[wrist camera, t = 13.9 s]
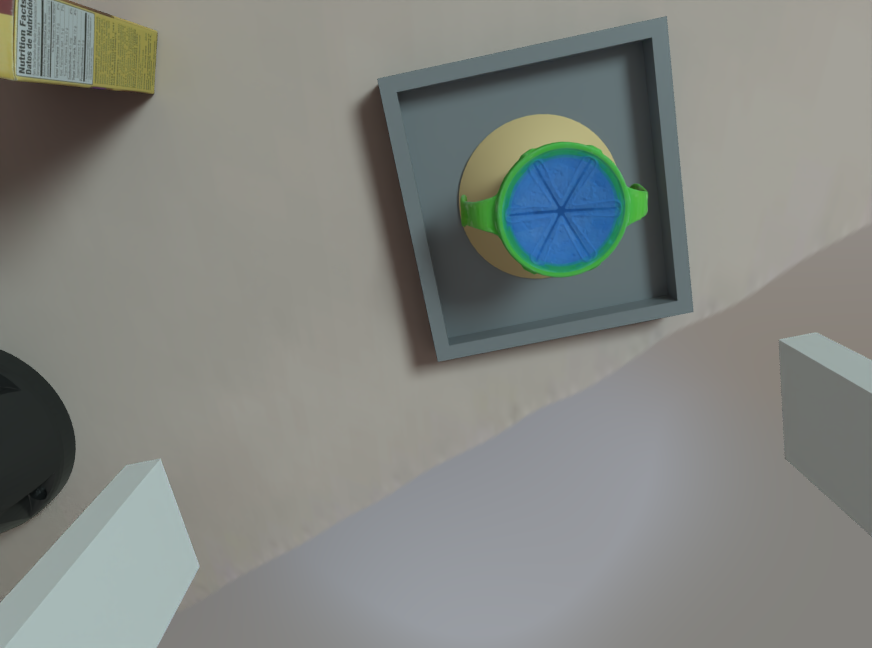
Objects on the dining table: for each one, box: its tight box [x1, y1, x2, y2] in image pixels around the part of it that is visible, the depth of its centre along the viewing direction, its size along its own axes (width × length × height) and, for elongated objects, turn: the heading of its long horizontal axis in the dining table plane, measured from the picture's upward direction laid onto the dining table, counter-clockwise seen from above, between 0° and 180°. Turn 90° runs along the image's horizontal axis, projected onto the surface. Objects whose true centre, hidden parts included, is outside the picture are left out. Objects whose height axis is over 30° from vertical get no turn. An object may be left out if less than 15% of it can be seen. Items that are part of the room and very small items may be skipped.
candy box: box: [0, 0, 158, 94], centre depth 34 cm, size 9×4×15 cm, turn 79°
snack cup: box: [460, 142, 648, 278], centre depth 40 cm, size 11×8×7 cm
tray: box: [377, 16, 693, 362], centre depth 43 cm, size 18×19×3 cm
